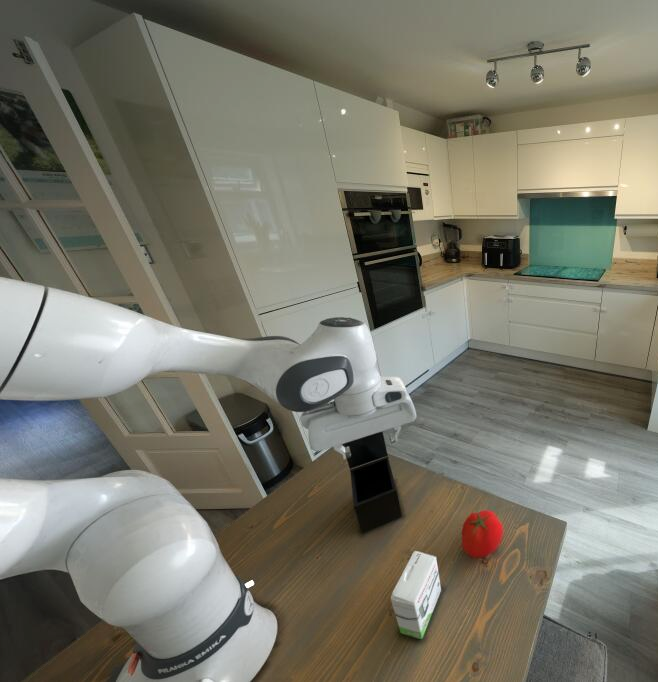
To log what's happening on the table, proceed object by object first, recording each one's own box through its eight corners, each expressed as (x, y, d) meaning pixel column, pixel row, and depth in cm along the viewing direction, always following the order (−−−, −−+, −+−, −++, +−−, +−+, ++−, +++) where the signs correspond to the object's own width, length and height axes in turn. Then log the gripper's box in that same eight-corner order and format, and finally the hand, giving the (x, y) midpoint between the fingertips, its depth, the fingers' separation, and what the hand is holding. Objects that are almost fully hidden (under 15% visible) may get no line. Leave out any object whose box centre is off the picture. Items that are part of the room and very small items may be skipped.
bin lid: (379, 417, 80) (376, 406, 84) (338, 429, 76) (337, 417, 80) (387, 456, 86) (384, 444, 90) (349, 469, 82) (348, 456, 86)
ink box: (422, 640, 58) (414, 606, 53) (398, 632, 59) (388, 598, 54) (442, 589, 66) (436, 555, 61) (420, 583, 67) (414, 549, 62)
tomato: (508, 532, 77) (508, 509, 73) (490, 574, 68) (489, 550, 65) (474, 519, 80) (473, 496, 77) (454, 558, 71) (451, 534, 68)
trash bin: (402, 516, 81) (396, 489, 76) (362, 534, 76) (353, 506, 72) (393, 481, 91) (387, 456, 86) (357, 495, 86) (349, 469, 82)
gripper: (296, 420, 54) (316, 477, 60) (414, 388, 64) (421, 441, 70) (298, 402, 59) (316, 456, 65) (406, 375, 69) (414, 425, 75)
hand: (371, 448), depth 67 cm, fingers open, 8 cm apart
